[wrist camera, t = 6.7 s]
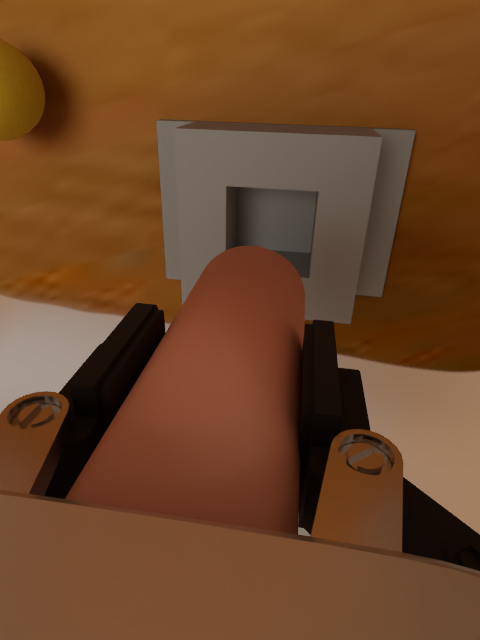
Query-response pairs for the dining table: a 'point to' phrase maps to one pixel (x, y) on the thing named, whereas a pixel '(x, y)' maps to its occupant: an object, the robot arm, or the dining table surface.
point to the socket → (285, 202)
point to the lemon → (18, 93)
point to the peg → (215, 405)
